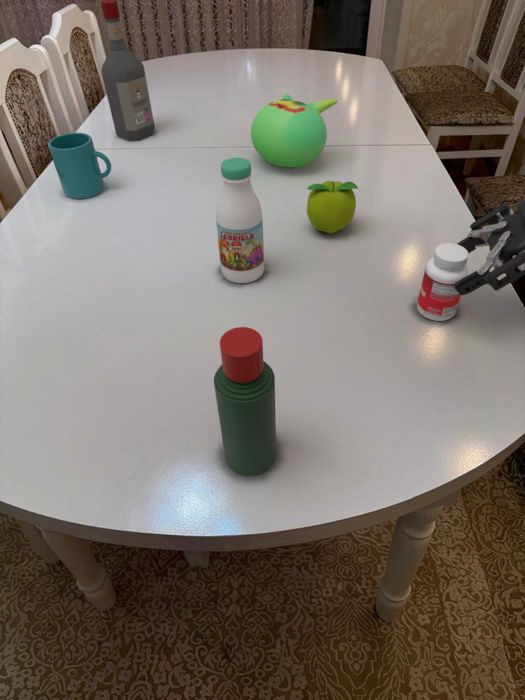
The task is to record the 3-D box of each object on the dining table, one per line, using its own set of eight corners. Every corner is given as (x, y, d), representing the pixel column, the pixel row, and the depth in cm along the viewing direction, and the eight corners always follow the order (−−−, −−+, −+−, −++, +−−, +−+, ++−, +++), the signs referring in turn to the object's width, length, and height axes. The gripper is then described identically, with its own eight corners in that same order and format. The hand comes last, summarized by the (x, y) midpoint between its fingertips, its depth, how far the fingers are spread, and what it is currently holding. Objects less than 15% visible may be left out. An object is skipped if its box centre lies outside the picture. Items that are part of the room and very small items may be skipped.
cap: (272, 364, 51) (271, 338, 48) (246, 389, 49) (244, 363, 46) (240, 347, 53) (238, 321, 50) (214, 370, 51) (210, 344, 48)
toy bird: (238, 164, 120) (234, 100, 109) (282, 141, 129) (282, 79, 118) (297, 186, 111) (299, 117, 101) (340, 159, 120) (346, 94, 110)
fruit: (351, 243, 94) (357, 194, 87) (303, 239, 96) (304, 191, 89) (355, 218, 101) (360, 171, 94) (309, 215, 102) (311, 168, 95)
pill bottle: (421, 293, 83) (435, 236, 75) (458, 303, 81) (477, 245, 73) (411, 316, 79) (425, 258, 71) (450, 326, 77) (469, 268, 69)
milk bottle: (220, 261, 91) (209, 154, 77) (262, 257, 92) (258, 150, 78) (222, 286, 86) (210, 176, 72) (266, 282, 86) (263, 172, 72)
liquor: (159, 132, 135) (137, 0, 114) (133, 143, 131) (104, 7, 110) (138, 124, 140) (113, -4, 119) (112, 135, 135) (80, 3, 114)
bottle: (286, 448, 62) (287, 339, 49) (254, 485, 59) (246, 378, 45) (246, 424, 65) (237, 314, 52) (214, 457, 62) (194, 349, 48)
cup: (112, 199, 109) (98, 149, 101) (58, 200, 110) (41, 149, 102) (122, 180, 116) (110, 131, 108) (71, 181, 116) (56, 132, 108)
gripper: (537, 162, 69) (434, 231, 78) (567, 215, 59) (444, 286, 68) (562, 199, 72) (460, 261, 81) (595, 255, 62) (474, 318, 71)
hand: (453, 272), depth 75 cm, fingers open, 8 cm apart
